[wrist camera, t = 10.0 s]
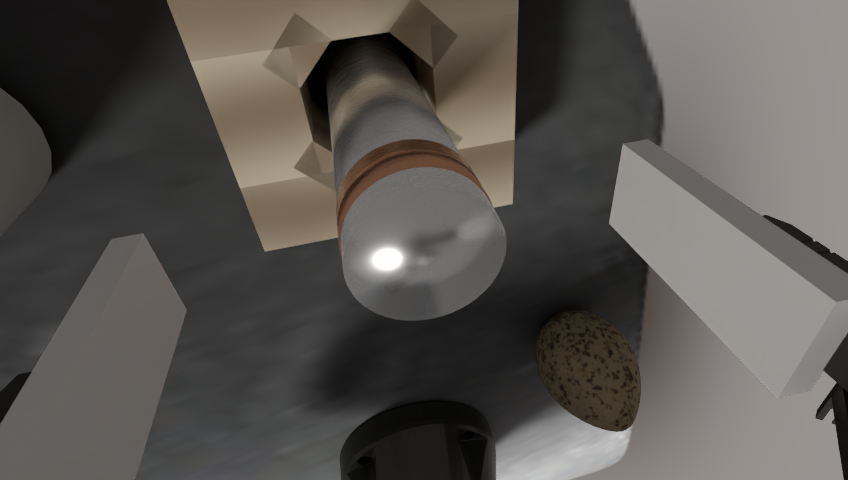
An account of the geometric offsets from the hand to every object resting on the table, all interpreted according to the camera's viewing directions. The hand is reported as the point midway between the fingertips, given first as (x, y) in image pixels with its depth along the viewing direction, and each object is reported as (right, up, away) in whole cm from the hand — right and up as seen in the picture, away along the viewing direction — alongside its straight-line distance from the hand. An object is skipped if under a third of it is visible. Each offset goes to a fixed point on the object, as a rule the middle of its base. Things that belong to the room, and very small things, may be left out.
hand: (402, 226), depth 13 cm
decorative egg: (+12, -7, +26) cm, 30 cm away
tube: (-2, +8, +11) cm, 14 cm away
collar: (-3, +8, +11) cm, 14 cm away
